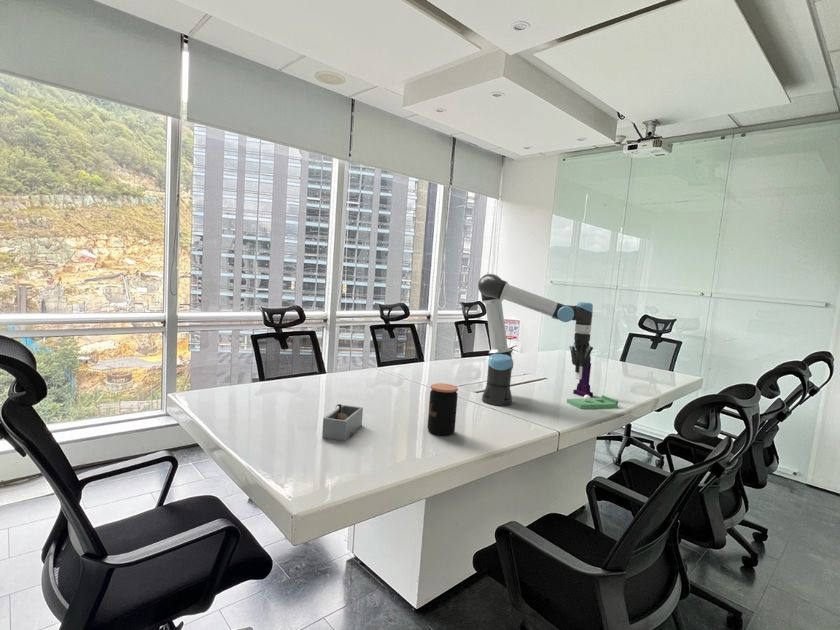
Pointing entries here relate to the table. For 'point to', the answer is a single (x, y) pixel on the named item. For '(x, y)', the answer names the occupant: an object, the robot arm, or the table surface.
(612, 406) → the green
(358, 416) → the open storage box
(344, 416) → the figurine
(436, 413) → the coffee jar
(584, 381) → the building model
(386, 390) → the table surface
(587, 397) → the ball
